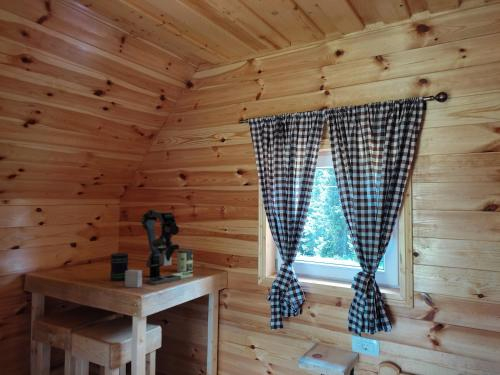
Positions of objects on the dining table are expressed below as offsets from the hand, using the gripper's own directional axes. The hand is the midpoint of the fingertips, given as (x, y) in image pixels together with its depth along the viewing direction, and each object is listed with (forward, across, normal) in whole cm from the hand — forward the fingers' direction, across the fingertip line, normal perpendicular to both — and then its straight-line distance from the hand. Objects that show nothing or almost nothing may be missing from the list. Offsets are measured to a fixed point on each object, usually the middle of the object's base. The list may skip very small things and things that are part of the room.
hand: (165, 260), depth 214 cm
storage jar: (+12, -22, -18) cm, 30 cm away
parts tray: (+12, -2, +13) cm, 18 cm away
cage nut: (+2, 0, 0) cm, 3 cm away
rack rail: (+12, +1, -2) cm, 12 cm away
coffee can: (+12, -14, +25) cm, 31 cm away
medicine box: (+12, 0, -20) cm, 23 cm away
